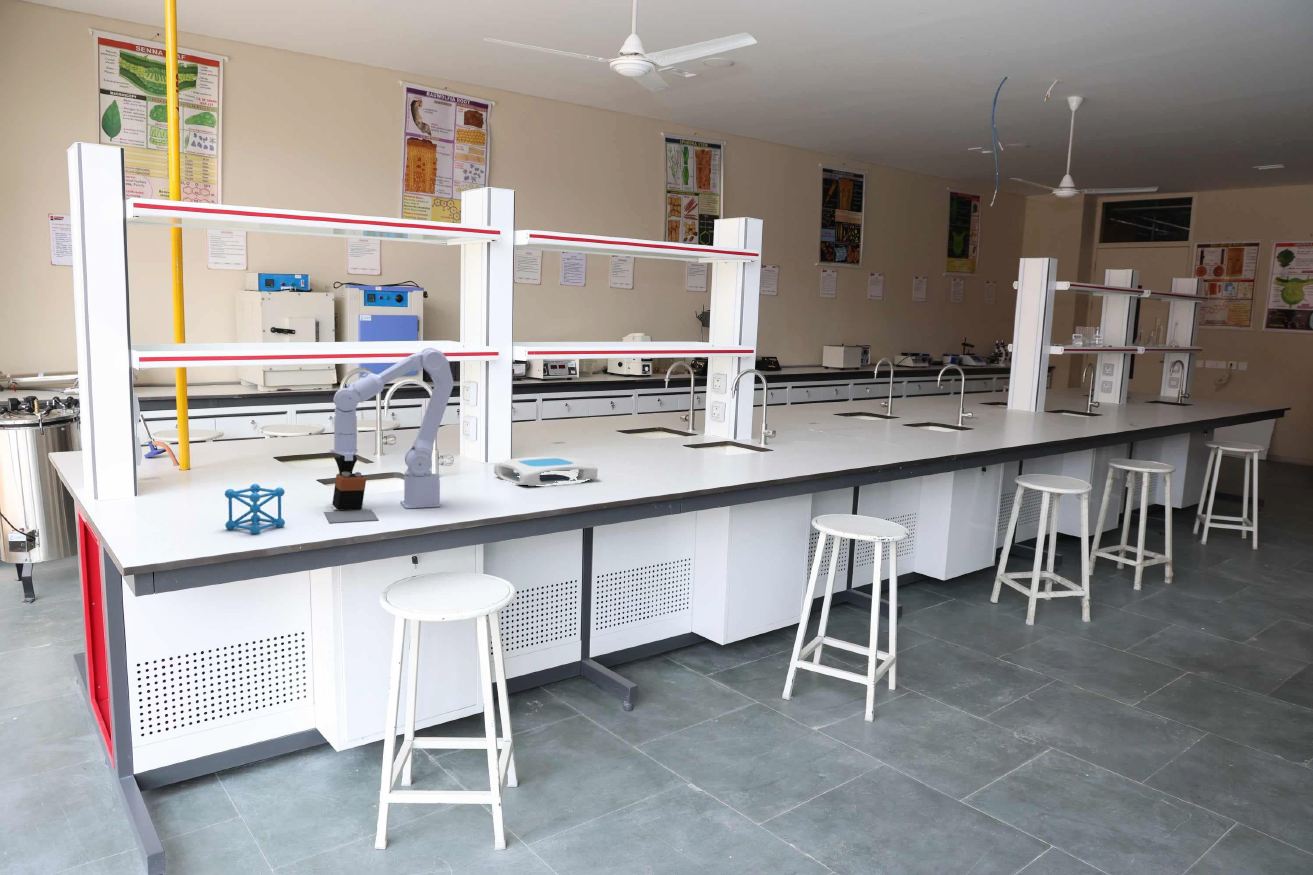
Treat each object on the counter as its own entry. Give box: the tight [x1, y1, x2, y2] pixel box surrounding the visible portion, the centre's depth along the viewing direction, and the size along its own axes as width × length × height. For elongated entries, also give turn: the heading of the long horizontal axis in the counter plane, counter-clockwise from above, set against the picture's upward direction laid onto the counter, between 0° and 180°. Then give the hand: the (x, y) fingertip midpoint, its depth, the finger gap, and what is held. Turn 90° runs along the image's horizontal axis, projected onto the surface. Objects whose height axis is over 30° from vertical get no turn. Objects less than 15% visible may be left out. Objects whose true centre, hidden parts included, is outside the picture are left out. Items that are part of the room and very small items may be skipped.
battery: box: [331, 471, 367, 511], centre depth 236 cm, size 4×7×10 cm, turn 131°
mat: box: [323, 509, 379, 524], centre depth 229 cm, size 12×12×1 cm
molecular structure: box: [224, 483, 286, 535], centre depth 213 cm, size 10×10×10 cm
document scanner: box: [493, 455, 598, 487], centre depth 293 cm, size 21×28×6 cm
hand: (345, 482), depth 238 cm, fingers closed
